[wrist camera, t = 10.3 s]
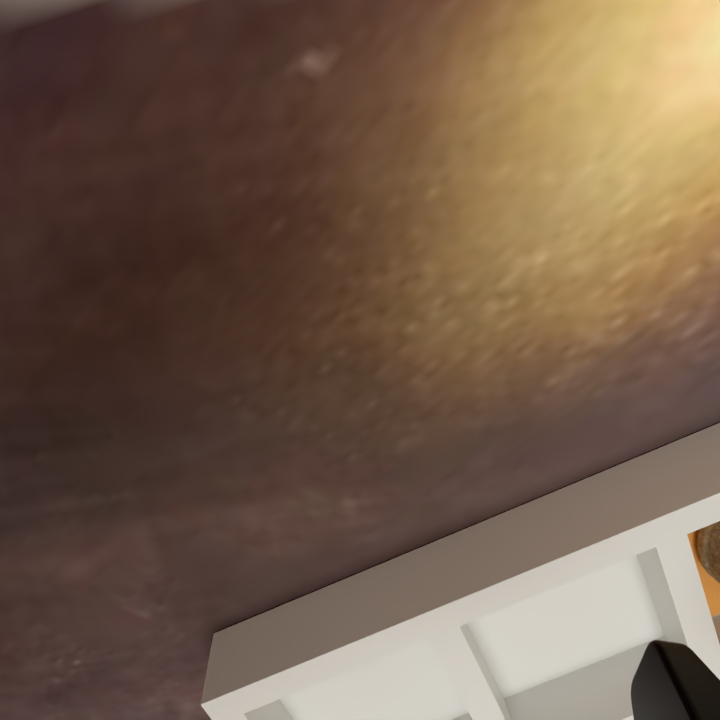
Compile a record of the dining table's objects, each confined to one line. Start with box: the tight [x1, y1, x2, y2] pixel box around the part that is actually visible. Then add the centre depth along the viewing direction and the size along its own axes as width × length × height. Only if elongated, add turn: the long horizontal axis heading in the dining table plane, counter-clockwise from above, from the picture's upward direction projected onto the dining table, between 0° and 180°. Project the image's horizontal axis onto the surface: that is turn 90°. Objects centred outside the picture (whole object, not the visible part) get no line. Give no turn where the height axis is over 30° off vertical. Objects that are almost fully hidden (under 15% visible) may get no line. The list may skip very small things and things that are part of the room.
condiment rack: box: [201, 423, 720, 720], centre depth 22 cm, size 24×8×3 cm, turn 114°
